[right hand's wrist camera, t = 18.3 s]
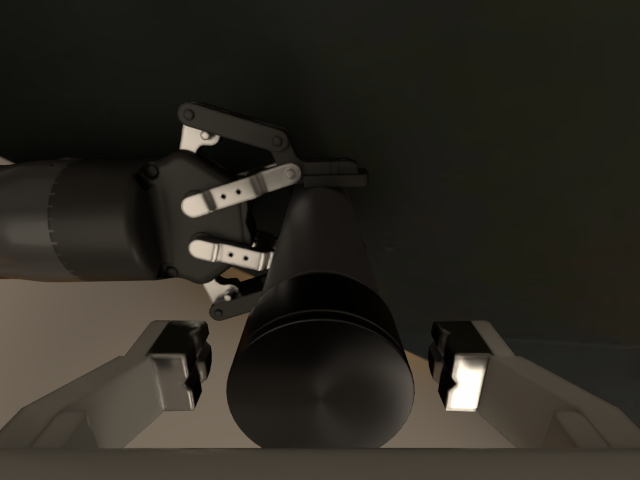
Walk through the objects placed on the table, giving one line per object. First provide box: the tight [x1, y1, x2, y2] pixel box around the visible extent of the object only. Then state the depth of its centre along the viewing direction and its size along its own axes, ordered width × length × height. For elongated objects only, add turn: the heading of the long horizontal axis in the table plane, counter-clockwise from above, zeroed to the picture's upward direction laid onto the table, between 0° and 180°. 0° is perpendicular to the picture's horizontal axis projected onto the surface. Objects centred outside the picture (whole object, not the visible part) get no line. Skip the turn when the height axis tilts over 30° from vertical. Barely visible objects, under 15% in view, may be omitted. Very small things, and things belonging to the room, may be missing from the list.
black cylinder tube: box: [261, 183, 380, 297], centre depth 18 cm, size 4×4×20 cm
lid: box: [226, 273, 415, 448], centre depth 9 cm, size 4×4×2 cm
